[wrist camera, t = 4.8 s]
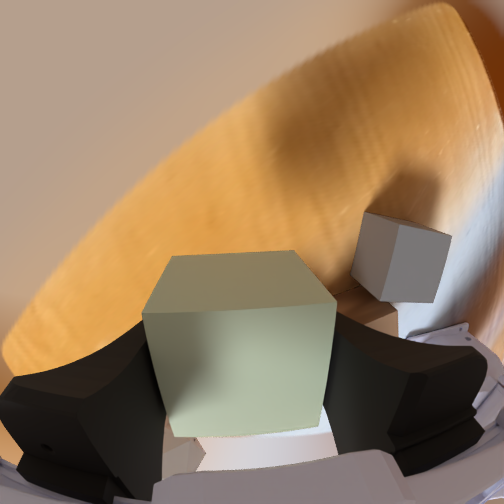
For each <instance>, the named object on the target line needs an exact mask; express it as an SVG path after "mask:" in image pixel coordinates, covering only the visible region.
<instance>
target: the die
mask: <svg viewBox="0 0 504 504" xmlns="http://www.w3.org/2000/svg"><path fill="white" fill-rule="evenodd" d="M205 454H206V452H205V451H204V450H203V448H202V446H201V445H200V443H199V441H198V440H197V438H196V437H174V434H173V431H172V428H171V425H170V422H169V419H168V416H167V415H166V421H165V427H164V440H163V457H162V480H164V479H166V478H168V477H170V476H172V475H174V474H177V473H189V472H196V470H197V468H198V466H199V465H200V463H201V461H202V459H203V458H204V456H205Z"/></svg>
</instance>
